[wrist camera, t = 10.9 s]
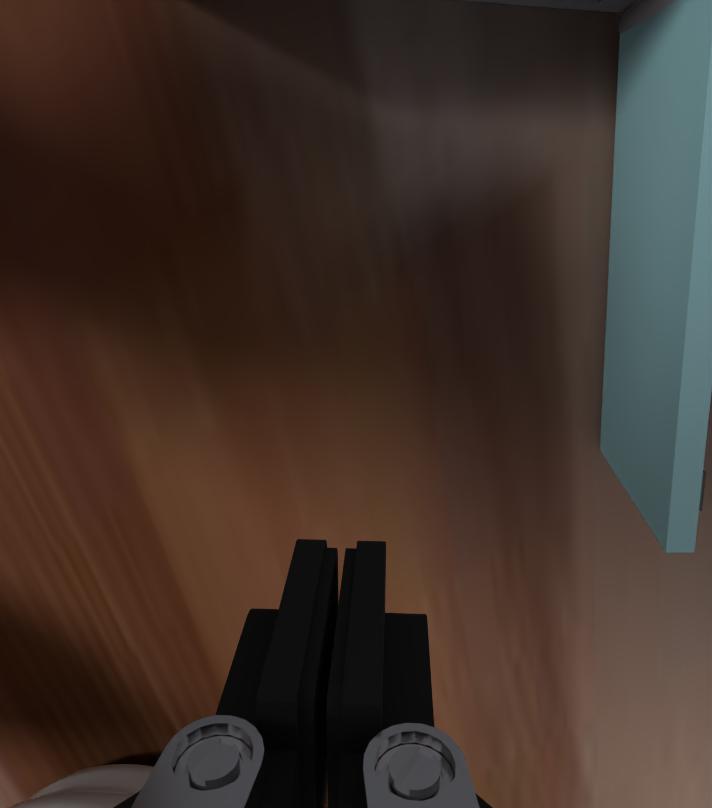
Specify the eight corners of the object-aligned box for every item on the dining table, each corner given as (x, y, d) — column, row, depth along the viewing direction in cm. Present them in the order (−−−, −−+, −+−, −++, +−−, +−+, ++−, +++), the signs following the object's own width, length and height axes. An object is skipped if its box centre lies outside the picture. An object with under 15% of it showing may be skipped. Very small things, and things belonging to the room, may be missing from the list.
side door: (668, 3, 27) (791, -71, 18) (637, 448, 33) (717, 551, 24) (618, 8, 27) (716, -63, 18) (598, 450, 33) (663, 553, 25)
